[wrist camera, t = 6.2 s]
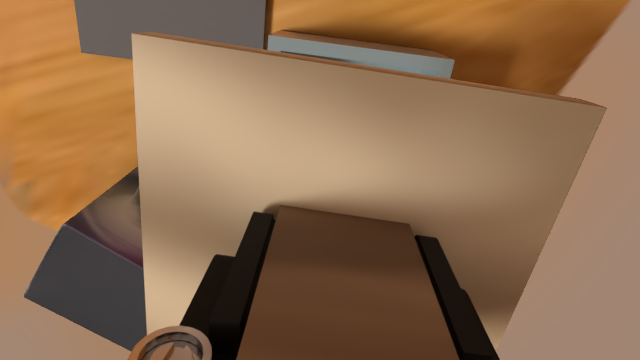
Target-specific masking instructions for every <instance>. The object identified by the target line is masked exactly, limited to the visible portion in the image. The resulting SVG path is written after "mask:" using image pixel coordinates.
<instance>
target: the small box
mask: <svg viewBox="0 0 640 360" xmlns="http://www.w3.org/2000/svg"><path fill="white" fill-rule="evenodd" d="M24 297H25V298H27V299H29V300H31V301H33V302H35V303H37V304H39V305H41V306H42V307H45V308H47V309H49V310H51V311H53V312H55V313H56V314H58V315H61V316H63V317H65V318H67V319H69V320H70V321H73V322H74V323H76V324H78V325H80V326H82V327H84V328H86V329H88V330H90V331H92V332H94V333H96V334H98V335H100V336H102V337H104V338H106V339H108V340H110V341H112V342H113V343H116V344H118V345H120V346H122V347H124V348H126V349H128V350H130V351H132V350H133V348H134V347H135V345H136V344H137V343H138V342H140V341H141V340H142V339H143V338H144V337H145V336H147V324H146V305H145V286H144V267H143V247H142V228H141V209H140V189H139V170H138V167H137V168H135V169H134V170H133V171H131V172H130V173H129V174H128V175H126V176H125V177H124V178H122V179H121V180H120V181H119V182H117V183H116V184H115V185H114V186H112V187H111V188H110V189H109V190H107V191H106V192H105V193H103V194H102V195H101V196H100V197H98V198H97V199H96V200H94V201H93V202H92V203H91V204H89V205H88V206H87V207H85V208H84V209H83V210H81V211H80V212H79V213H78V214H76V215H75V216H74V217H72V218H70V219H69V220H68V221H67V222H65V223H64V224H63V225H62V226H61V228H60V230H59V231H58V233H57V235H56V236H55V238H54V240H53V242H52V243H51V246H50V247H49V249H48V251H47V252H46V254H45V256H44V258H43V260H42V262H41V264H40V265H39V267H38V270H37V271H36V273H35V275H34V277H33V279H32V281H31V282H30V284H29V286H28V288H27V290H26V292H25V294H24Z"/></svg>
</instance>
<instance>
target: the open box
mask: <svg viewBox="0 0 640 360" xmlns="http://www.w3.org/2000/svg"><path fill="white" fill-rule="evenodd" d="M268 50H270V51H276V52H283V53H289V54H295V55H302V56H308V57H315V58H321V59H327V60H334V61H340V62H346V63H353V64H359V65H366V66H372V67H378V68H385V69H391V70H398V71H404V72H410V73H417V74H423V75H429V76H436V77H442V78H449V79H450V77H451V74H452V70H453V66H454V62H455V60H454V59H452V58H449V57H447V56H444V55H442V54H440V53H437V52H435V51H433V50H426V49H418V48H411V47H403V46H396V45H388V44H381V43H373V42H366V41H358V40H351V39H344V38H336V37H329V36H321V35H314V34H306V33H299V32H291V31H284V30H279V31H277V32H275V33H272V34H270V35H268Z"/></svg>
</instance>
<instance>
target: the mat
mask: <svg viewBox="0 0 640 360" xmlns="http://www.w3.org/2000/svg"><path fill="white" fill-rule="evenodd" d="M74 2H75V9H76V16H77V24H78V31H79V38H80V45H81V53H89V54H96V55H104V56H112V57H119V58H127V59H133V55H132V35H131V33H144V32H155V33H161V34H168V35H174V36H181V37H187V38H193V39H200V40H206V41H213V42H219V43H225V44H232V45H238V46H244V47H251V48H257V49H264V39H265V21H266V3H267V0H74Z"/></svg>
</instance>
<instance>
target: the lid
mask: <svg viewBox="0 0 640 360" xmlns="http://www.w3.org/2000/svg"><path fill="white" fill-rule="evenodd" d="M131 35H132V55H133V74H134V93H135V112H136V132H137V151H138V170H139V189H140V209H141V228H142V247H143V267H144V286H145V305H146V324H147V335H149V334H150V333H152V332H154V331H156V330H159V329H162V328H165V327H169V326H179V325H180V323H181V321H182V319H183V317H184V315H185V313H186V311H187V309H188V307H189V305H190V303H191V301H192V299H193V297H194V295H195V293H196V291H197V289H198V287H199V285H200V283H201V281H202V279H203V277H204V275H205V273H206V271H207V269H208V267H209V265H210V263H211V261H212V259H213V257H214V256H215V255H216V254H220V255H227V256H234V257H235V255H236V253H237V250H238V248H239V245H240V243H241V241H242V238H243V236H244V233H245V231H246V228H247V226H248V224H249V221H250V219H251V216H252V214H253V212H254V211H255V212H262V213H269V214H273V215H274V218H273V219H274V220H276V222H275V225H274V229H273V232H272V236H271V239H270V243H269V246H268V250H267V253H266V257H265V260H264V264H263V267H262V271H261V274H260V278H259V281H258V285H257V288H256V292H255V296H254V299H253V303H252V306H251V310H250V313H249V317H248V320H247V324H246V327H245V331H244V334H243V338H242V341H241V345H240V348H239V352H238V355H237V359H236V360H459V357H458V355H457V352H456V349H455V346H454V344H453V341H452V338H451V336H450V333H449V330H448V327H447V325H446V322H445V319H444V317H443V314H442V311H441V308H440V306H439V303H438V300H437V298H436V295H435V292H434V289H433V287H432V284H431V281H430V278H429V276H428V273H427V270H426V268H425V265H424V262H423V259H422V257H421V254H420V251H419V249H418V246H417V243H416V240H415V238H414V237H415V235H421V236H428V237H435V238H437V239H438V241H439V243H440V245H441V247H442V249H443V251H444V254H445V256H446V258H447V260H448V262H449V264H450V266H451V269H452V271H453V273H454V275H455V277H456V279H457V281H458V283H459V286H460V288H461V289H464V290H465V291H466V292H467V294H468V295H469V297H470V299H471V301H472V303H473V306H474V308H475V310H476V312H477V314H478V316H479V318H480V320H481V322H482V324H483V326H484V328H485V330H486V332H487V334H488V337H489V339H490V341H491V343H492V345H493V347H494V349H495V351H496V349H497V347H498V345H499V343H500V341H501V339H502V336H503V334H504V332H505V330H506V328H507V325H508V323H509V321H510V319H511V316H512V314H513V312H514V310H515V308H516V306H517V304H518V301H519V299H520V297H521V295H522V293H523V290H524V288H525V286H526V284H527V282H528V279H529V277H530V275H531V273H532V271H533V268H534V266H535V264H536V262H537V260H538V258H539V255H540V253H541V251H542V249H543V246H544V244H545V242H546V240H547V238H548V236H549V234H550V231H551V229H552V227H553V225H554V223H555V220H556V218H557V216H558V214H559V212H560V209H561V207H562V205H563V203H564V200H565V199H566V196H567V194H568V192H569V190H570V187H571V185H572V183H573V181H574V179H575V177H576V174H577V172H578V170H579V168H580V166H581V164H582V161H583V159H584V157H585V154H586V153H587V150H588V148H589V146H590V144H591V141H592V139H593V137H594V135H595V133H596V131H597V129H598V126H599V124H600V122H601V119H602V118H603V115H604V113H605V111H606V109H607V108H606V107H603V106H600V105H597V104H594V103H591V102H588V101H584V100H582V99H576V98H570V97H563V96H557V95H551V94H544V93H538V92H531V91H525V90H519V89H512V88H506V87H500V86H493V85H487V84H480V83H474V82H468V81H461V80H455V79H449V78H442V77H436V76H429V75H423V74H417V73H410V72H404V71H398V70H391V69H385V68H378V67H372V66H366V65H359V64H353V63H346V62H340V61H334V60H327V59H321V58H315V57H308V56H302V55H295V54H289V53H283V52H276V51H270V50H264V49H257V48H251V47H244V46H238V45H232V44H225V43H219V42H213V41H206V40H200V39H193V38H187V37H181V36H174V35H168V34H161V33H155V32H144V33H131Z"/></svg>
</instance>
